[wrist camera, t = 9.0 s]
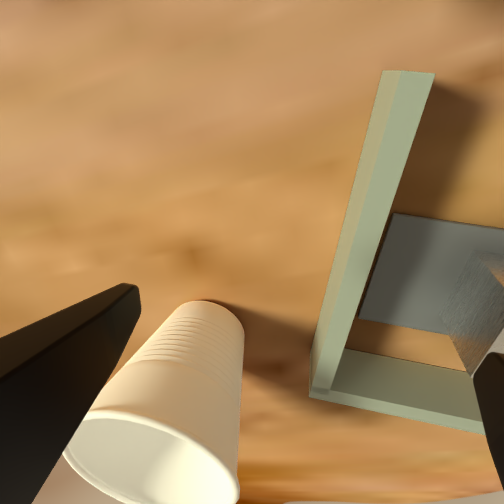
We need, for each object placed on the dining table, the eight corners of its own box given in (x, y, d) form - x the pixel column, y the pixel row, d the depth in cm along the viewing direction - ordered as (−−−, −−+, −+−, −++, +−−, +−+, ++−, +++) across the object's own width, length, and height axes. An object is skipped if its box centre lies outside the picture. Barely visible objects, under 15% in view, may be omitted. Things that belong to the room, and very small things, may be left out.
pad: (393, 212, 18) (394, 214, 18) (601, 242, 17) (605, 245, 17) (357, 315, 22) (358, 318, 22) (523, 345, 21) (526, 349, 21)
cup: (294, 337, 25) (280, 501, 15) (215, 383, 29) (167, 531, 20) (199, 253, 22) (113, 386, 13) (130, 318, 27) (29, 450, 18)
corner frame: (382, 70, 15) (401, 70, 12) (778, 107, 13) (939, 120, 10) (310, 352, 25) (308, 397, 22) (529, 396, 23) (565, 452, 20)
